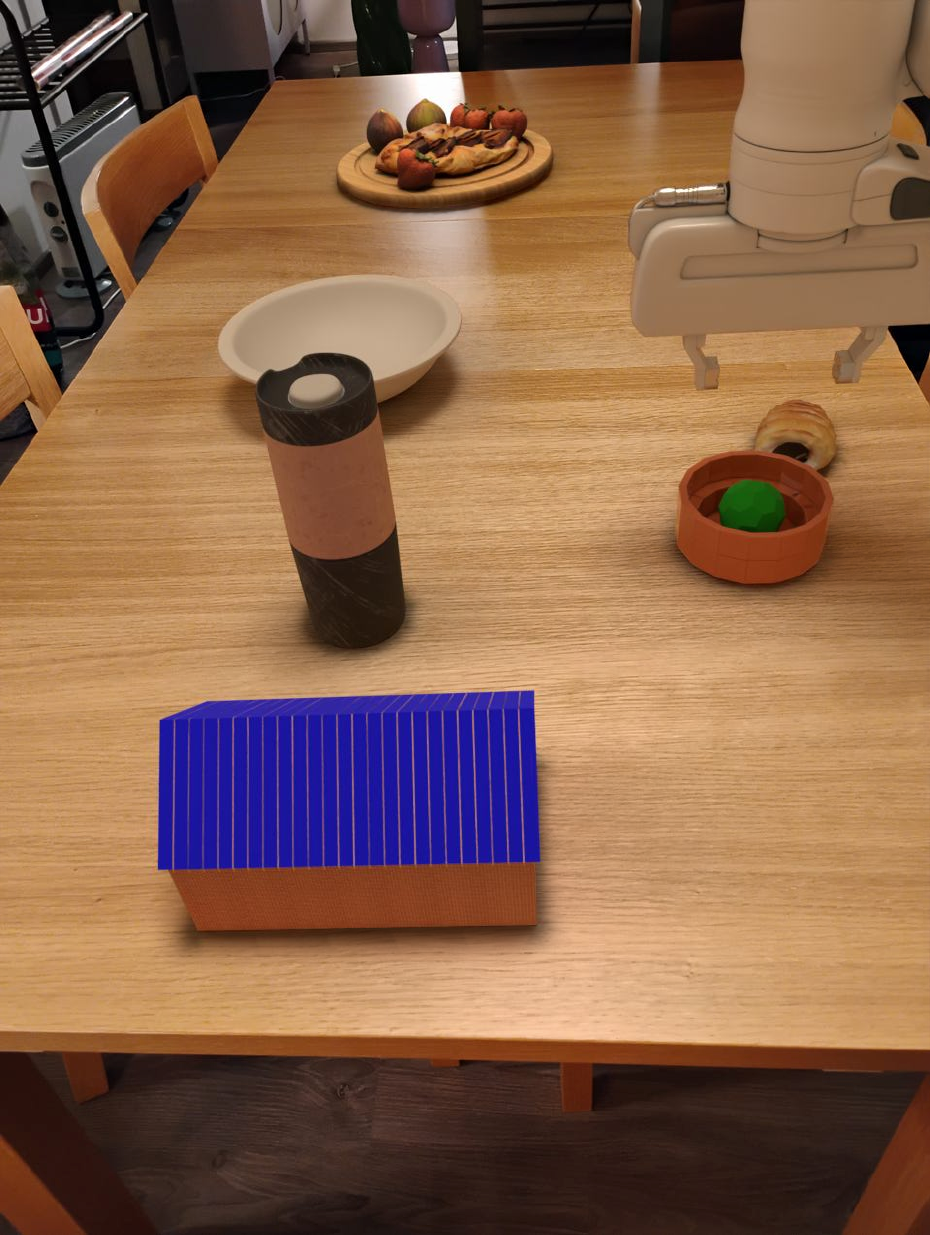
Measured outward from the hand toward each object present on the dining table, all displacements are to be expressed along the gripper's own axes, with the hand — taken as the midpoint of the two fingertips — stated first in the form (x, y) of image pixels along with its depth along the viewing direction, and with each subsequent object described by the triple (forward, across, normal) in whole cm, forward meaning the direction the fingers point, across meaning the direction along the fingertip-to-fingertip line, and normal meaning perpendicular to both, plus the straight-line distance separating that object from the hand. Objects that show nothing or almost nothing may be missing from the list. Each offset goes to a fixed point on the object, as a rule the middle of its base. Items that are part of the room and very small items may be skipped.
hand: (774, 382), depth 69 cm
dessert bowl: (+14, 0, 0) cm, 14 cm away
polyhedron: (+14, 0, 0) cm, 14 cm away
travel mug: (+14, -30, -8) cm, 34 cm away
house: (+14, -27, -29) cm, 42 cm away
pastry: (+14, +5, +13) cm, 20 cm away
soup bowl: (+14, -36, +27) cm, 47 cm away
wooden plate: (+14, -32, +89) cm, 95 cm away
